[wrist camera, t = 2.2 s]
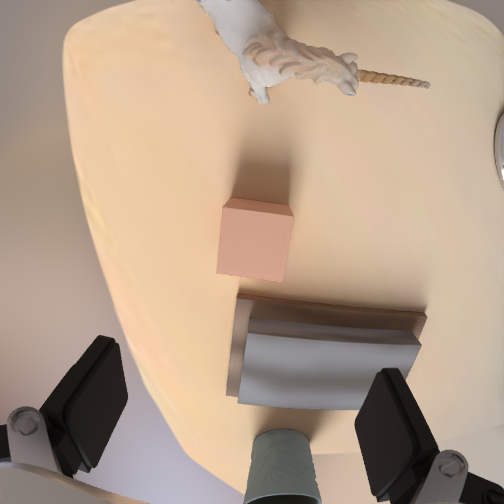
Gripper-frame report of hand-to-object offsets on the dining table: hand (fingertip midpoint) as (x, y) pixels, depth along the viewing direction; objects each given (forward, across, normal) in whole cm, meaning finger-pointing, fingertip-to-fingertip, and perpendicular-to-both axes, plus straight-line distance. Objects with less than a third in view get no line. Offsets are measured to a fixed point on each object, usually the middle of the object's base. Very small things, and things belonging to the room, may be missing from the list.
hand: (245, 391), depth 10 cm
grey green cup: (+21, -7, +32) cm, 39 cm away
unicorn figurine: (+21, 0, -19) cm, 28 cm away
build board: (+21, -10, +14) cm, 26 cm away
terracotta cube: (+21, 0, -1) cm, 21 cm away
